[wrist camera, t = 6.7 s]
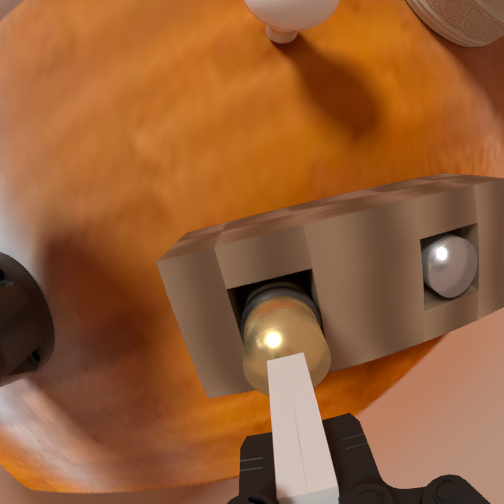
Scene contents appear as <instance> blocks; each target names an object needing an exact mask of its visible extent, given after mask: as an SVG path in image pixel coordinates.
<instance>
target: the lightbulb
mask: <svg viewBox="0 0 504 504" xmlns="http://www.w3.org/2000/svg"><path fill="white" fill-rule="evenodd" d="M243 1H244V3H245V5H246V7H247V8H248V9H249V11H250V12H251V13H252V14H253V15H254V16H255V17H256V18H257V19H258V20H260V21H261V22H263V23H265V24H266V28H265V31H266V34H267V36H268V37H269V39H271V40H272V41H274V42H276V43H282V44H284V43H289V42H291V41H293V40H294V39H295V38H296V36H297V33H298V31H301V30H307V29H311V28H314V27H316V26H318V25H320V24H322V23H323V22H325V21H326V20H327V19H329V18H330V17H331V16H332V15H333V13H334V12H335V10H336V9H337V7H338V5H339V2H340V0H243Z"/></svg>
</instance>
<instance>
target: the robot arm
mask: <svg viewBox="0 0 504 504" xmlns="http://www.w3.org/2000/svg"><path fill="white" fill-rule="evenodd" d="M53 345H54V331H53V325H52V320H51V316H50V313H49V310H48V307H47V305H46V302H45V300H44V298H43V296H42V294H41V292H40V290H39V288H38V286H37V285H36V283H35V282H34V280H33V279H32V277H31V276H30V275H29V274H28V272H27V271H26V270H25V269H24V268H23V267H22V266H21V265H20V264H19V263H18V262H17V261H15V260H14V259H13V258H11V257H10V256H8V255H6V254H4V253H1V252H0V387H2V386H4V385H7V384H10V383H12V382H15V381H17V380H20V379H23V378H25V377H28V376H30V375H32V374H34V373H36V372H37V371H38V370H39V369H40V368H41V367H42V366H43V365H44V364H45V363H46V362H47V361H48V359H49V358H50V356H51V353H52V350H53ZM267 369H268V382H269V395H270V408H271V421H272V432H270V433H264V434H258V435H252V436H247V437H246V439H245V441H244V442H243V444H242V446H241V449H240V477H239V495H238V496H237V497H235V498H233V499H231V500H230V501H229V502H228V503H227V504H490V503H489V502H488V501H487V500H486V499H485V498H484V497H483V496H482V495H481V494H480V493H478V491H476V490H475V489H474V488H473V487H472V486H471V485H470V484H469V483H468V482H467V481H466V480H465V479H463V478H461V477H460V476H457V475H444V476H440V477H438V478H436V479H434V480H432V481H431V482H430V483H429V484H428V485H427V486H426V487H421V488H412V489H398V488H393V487H391V486H389V485H387V484H386V483H385V482H384V481H383V480H382V478H381V476H380V474H379V471H378V468H377V466H376V463H375V460H374V458H373V455H372V453H371V450H370V448H369V445H368V443H367V439H366V437H365V435H364V432H363V429H362V427H361V424H360V422H359V420H357V419H356V418H355V417H354V416H353V415H351V414H350V413H347V414H344V415H340V416H337V417H333V418H329V419H325V420H321V416H320V413H319V409H318V405H317V401H316V397H315V394H314V390H313V386H312V382H311V379H310V375H309V371H308V367H307V364H306V360H305V356H304V353H298V354H294V355H290V356H286V357H282V358H277V359H273V360H268V361H267Z"/></svg>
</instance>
